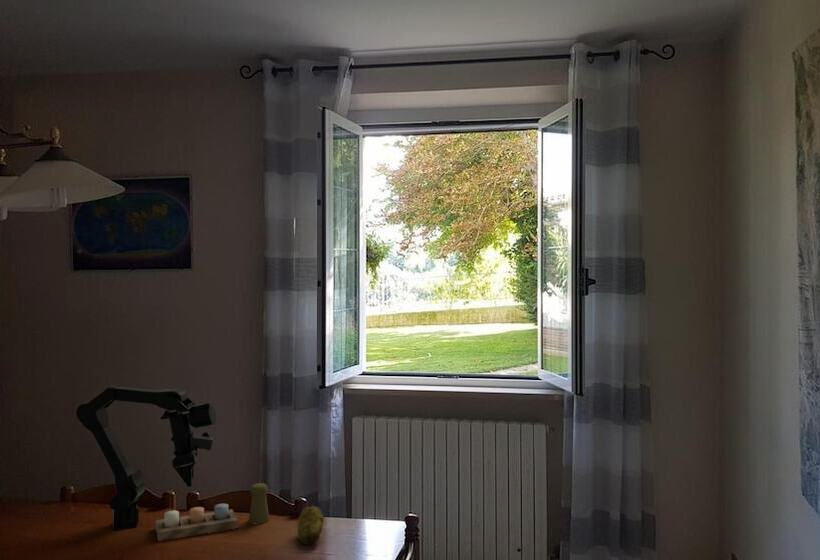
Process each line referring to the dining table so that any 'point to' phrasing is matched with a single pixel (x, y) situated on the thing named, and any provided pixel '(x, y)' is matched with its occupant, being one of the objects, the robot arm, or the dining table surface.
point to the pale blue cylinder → (220, 511)
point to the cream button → (171, 519)
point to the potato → (310, 525)
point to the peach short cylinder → (196, 515)
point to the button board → (195, 526)
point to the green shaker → (259, 504)
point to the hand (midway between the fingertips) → (190, 482)
